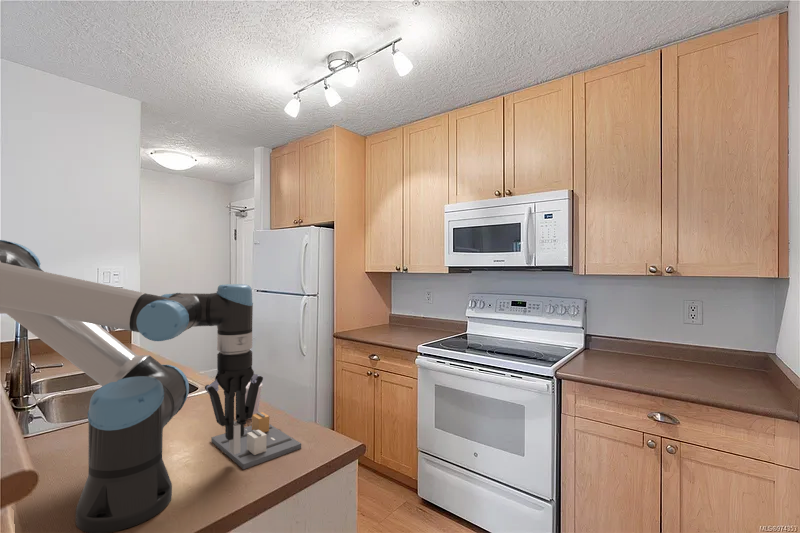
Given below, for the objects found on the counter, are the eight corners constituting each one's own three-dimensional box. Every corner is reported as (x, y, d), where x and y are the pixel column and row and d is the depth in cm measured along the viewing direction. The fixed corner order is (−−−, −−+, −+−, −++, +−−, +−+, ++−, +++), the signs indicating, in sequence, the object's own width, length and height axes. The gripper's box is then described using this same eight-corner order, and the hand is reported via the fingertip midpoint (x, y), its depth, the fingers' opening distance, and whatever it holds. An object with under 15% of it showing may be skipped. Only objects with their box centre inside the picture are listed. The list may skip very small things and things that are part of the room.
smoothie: (247, 422, 116) (248, 375, 116) (235, 417, 120) (236, 371, 120) (266, 416, 121) (267, 370, 121) (254, 411, 125) (255, 366, 125)
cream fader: (254, 455, 94) (254, 436, 94) (246, 449, 97) (247, 431, 97) (266, 450, 96) (266, 432, 96) (258, 445, 99) (258, 427, 99)
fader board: (243, 469, 90) (243, 463, 90) (211, 441, 104) (211, 436, 104) (301, 448, 101) (301, 443, 101) (265, 425, 114) (265, 421, 114)
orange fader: (258, 434, 106) (258, 417, 106) (251, 429, 108) (252, 413, 108) (269, 430, 108) (269, 414, 108) (262, 426, 111) (262, 410, 110)
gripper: (212, 358, 85) (211, 467, 85) (269, 349, 94) (268, 447, 95) (199, 352, 90) (199, 455, 91) (254, 344, 100) (254, 437, 100)
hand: (234, 451), depth 93 cm, fingers closed
